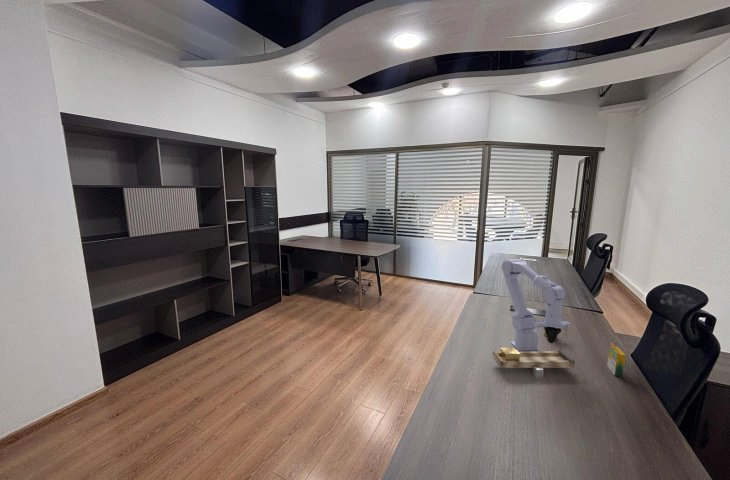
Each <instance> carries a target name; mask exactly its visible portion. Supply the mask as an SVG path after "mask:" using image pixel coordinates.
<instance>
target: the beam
mask: <svg viewBox="0 0 730 480" xmlns="http://www.w3.org/2000/svg"><path fill="white" fill-rule="evenodd" d="M518 352H519V353H520V361H504V360H503V359H502V358H501V356H500V351H496V350H492V356H491V357H492V359H493V360H494V361H495V363H496V364H497V366H498V367H499V368H500V369H534V367H542V368H543V369H545V368H546V369H547V368H548V369H549V368H550V369H551V368H553V369H555V368H557V369H559V368H563V369H566V368H575V363H576V360H575V359H574V358H573V357H572V356H570V355H569V354H568V353H567V352H565V350H564V349H558V350H557V351H555V350H554V351H549V350H547V351H545V350H544V351H543V350H542V351H538V350H537V351H518Z"/></svg>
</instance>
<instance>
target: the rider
mask: <svg viewBox="0 0 730 480" xmlns="http://www.w3.org/2000/svg"><path fill="white" fill-rule="evenodd" d="M499 352H500V356H501V358H502V359H503V360H504V361H520V353H519V352H520V351H519V350H518V349H517V348H516V347H500V351H499Z"/></svg>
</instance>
